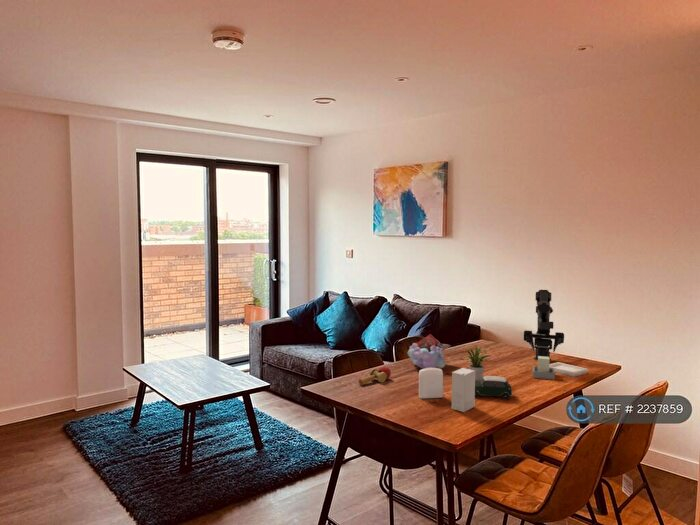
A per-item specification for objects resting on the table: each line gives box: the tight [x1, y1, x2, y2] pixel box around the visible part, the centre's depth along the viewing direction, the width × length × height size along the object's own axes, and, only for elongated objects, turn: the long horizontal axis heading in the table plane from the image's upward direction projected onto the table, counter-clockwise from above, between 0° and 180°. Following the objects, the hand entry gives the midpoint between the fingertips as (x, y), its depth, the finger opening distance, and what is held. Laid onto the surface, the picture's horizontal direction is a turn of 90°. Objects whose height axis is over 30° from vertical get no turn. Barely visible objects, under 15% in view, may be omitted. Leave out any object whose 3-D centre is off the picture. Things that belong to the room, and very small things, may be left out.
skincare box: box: [450, 367, 476, 413], centre depth 197 cm, size 8×6×15 cm
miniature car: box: [475, 375, 513, 401], centre depth 213 cm, size 9×18×8 cm, turn 77°
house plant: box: [465, 344, 492, 382], centre depth 236 cm, size 14×14×16 cm
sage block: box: [537, 356, 551, 372], centre depth 243 cm, size 5×5×9 cm
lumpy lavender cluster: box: [407, 333, 452, 370], centre depth 259 cm, size 20×22×18 cm
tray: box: [549, 362, 589, 378], centre depth 252 cm, size 16×12×2 cm
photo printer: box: [418, 368, 444, 399], centre depth 210 cm, size 10×4×12 cm, turn 96°
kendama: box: [358, 365, 392, 386], centre depth 233 cm, size 8×6×18 cm
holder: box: [532, 366, 556, 381], centre depth 243 cm, size 10×10×3 cm
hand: (543, 351), depth 246 cm, fingers open, 9 cm apart
